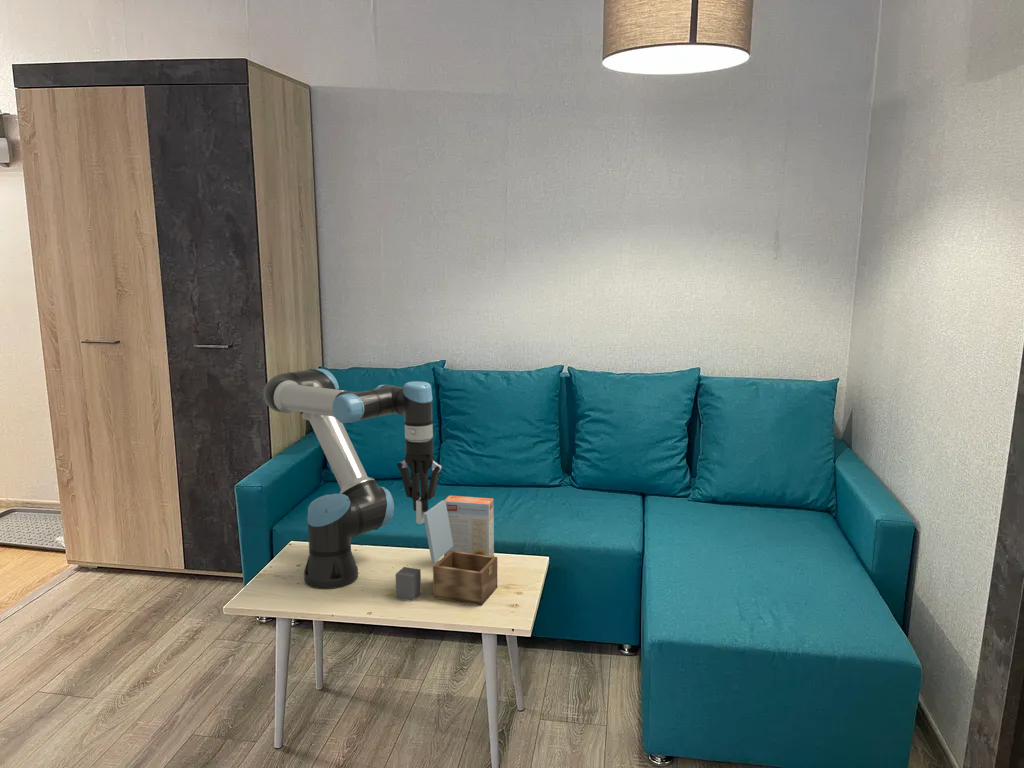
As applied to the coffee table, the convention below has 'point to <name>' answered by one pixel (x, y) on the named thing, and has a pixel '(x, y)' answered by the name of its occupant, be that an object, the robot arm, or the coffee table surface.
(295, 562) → the coffee table surface
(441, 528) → the lid
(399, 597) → the block
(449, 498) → the cracker box
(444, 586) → the keepsake box
